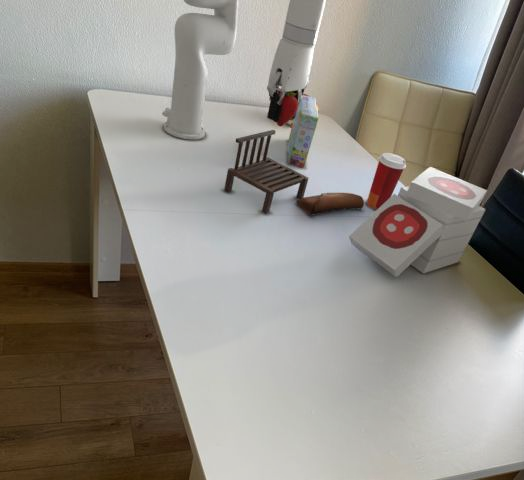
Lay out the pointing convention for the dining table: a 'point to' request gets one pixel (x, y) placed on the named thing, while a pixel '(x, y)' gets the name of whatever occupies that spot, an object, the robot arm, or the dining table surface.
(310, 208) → the sunglasses case
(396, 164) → the paper cup
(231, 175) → the miniature wooden chair
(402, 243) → the pizza boxes
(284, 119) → the strawberry
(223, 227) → the dining table surface
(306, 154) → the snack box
